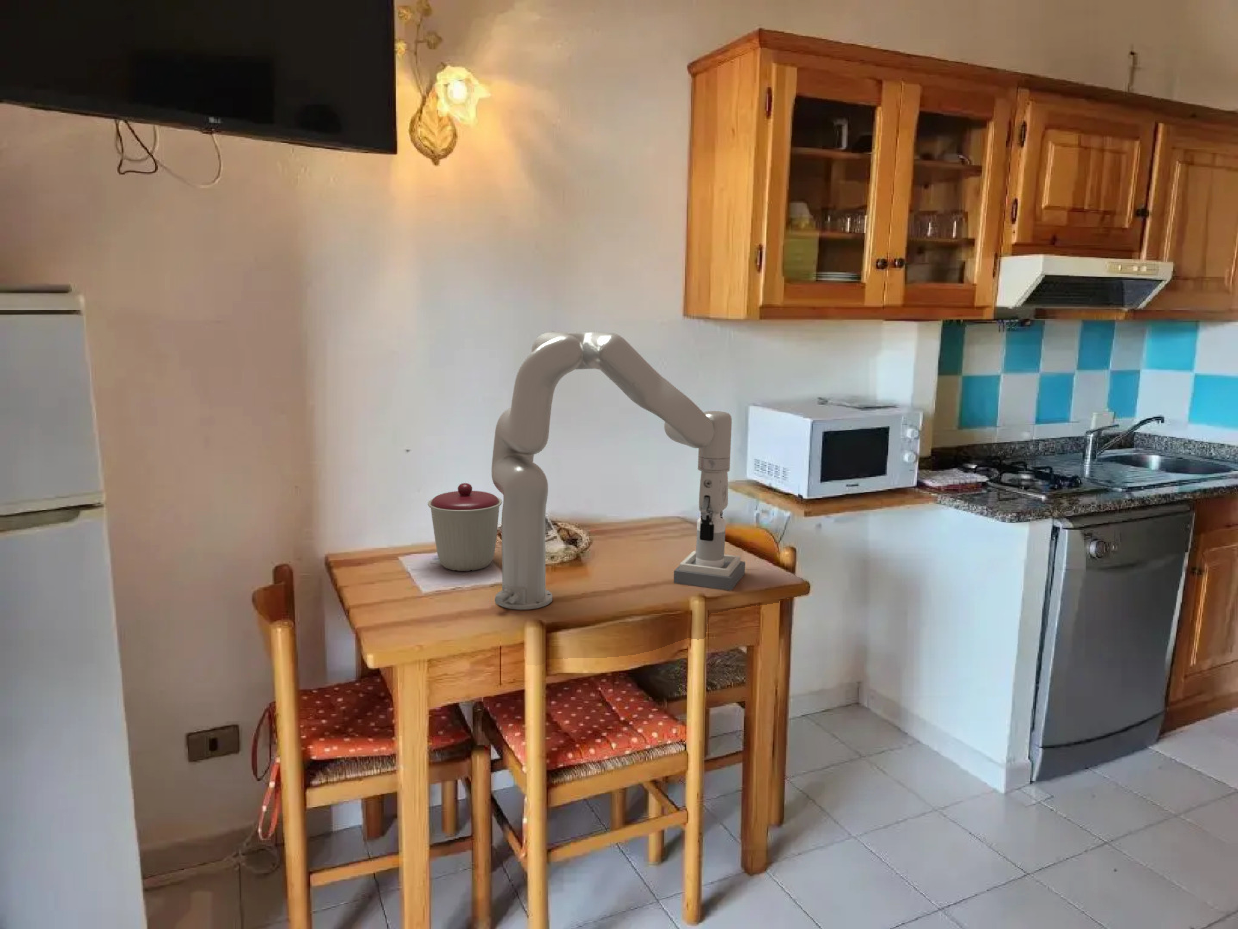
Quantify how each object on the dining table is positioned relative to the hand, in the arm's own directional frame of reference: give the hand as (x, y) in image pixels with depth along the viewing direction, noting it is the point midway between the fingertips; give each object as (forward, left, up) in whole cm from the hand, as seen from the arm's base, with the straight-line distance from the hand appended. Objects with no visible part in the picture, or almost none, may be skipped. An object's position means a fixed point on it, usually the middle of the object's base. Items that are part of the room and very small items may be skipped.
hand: (711, 535), depth 204 cm
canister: (-15, +59, -11) cm, 62 cm away
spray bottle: (0, 0, -8) cm, 8 cm away
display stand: (0, 0, -11) cm, 11 cm away
